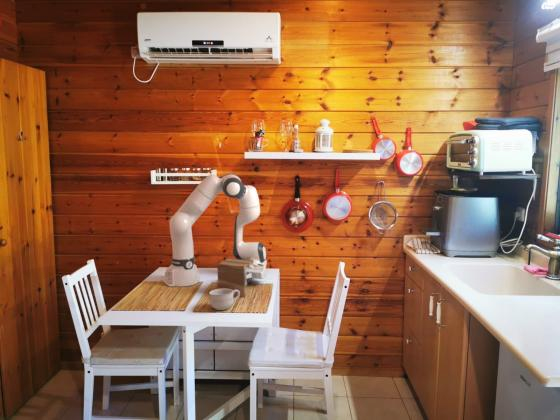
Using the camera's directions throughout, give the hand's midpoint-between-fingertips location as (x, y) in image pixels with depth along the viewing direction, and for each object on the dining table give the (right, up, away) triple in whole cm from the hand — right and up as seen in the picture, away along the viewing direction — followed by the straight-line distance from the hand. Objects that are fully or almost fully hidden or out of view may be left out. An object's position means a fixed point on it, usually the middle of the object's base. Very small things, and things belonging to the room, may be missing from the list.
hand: (240, 276), depth 228 cm
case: (-1, -6, -2) cm, 6 cm away
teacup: (-5, -10, -26) cm, 29 cm away
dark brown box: (-2, -7, -5) cm, 9 cm away
